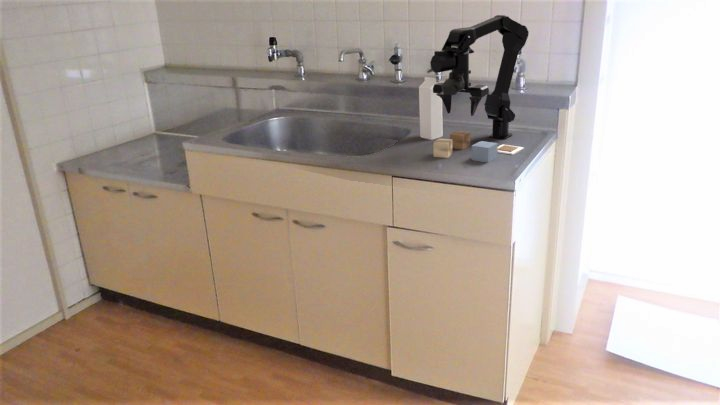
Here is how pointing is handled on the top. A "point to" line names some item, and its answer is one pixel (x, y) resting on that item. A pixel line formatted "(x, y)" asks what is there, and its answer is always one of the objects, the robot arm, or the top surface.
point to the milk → (430, 111)
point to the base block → (484, 151)
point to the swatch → (509, 149)
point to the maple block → (442, 148)
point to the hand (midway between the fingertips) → (460, 114)
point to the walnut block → (460, 139)
